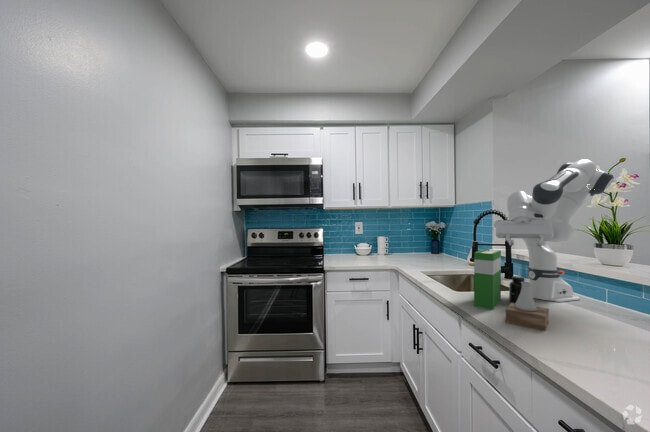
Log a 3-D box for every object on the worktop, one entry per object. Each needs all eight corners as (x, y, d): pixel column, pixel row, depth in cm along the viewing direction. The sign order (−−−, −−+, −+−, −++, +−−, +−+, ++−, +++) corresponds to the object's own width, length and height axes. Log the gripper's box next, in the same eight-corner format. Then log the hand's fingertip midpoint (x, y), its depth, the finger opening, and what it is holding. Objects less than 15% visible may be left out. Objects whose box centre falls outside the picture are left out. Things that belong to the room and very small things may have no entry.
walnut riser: (511, 314, 119) (511, 302, 119) (548, 321, 111) (548, 308, 111) (505, 322, 110) (505, 309, 110) (545, 330, 102) (545, 316, 102)
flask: (542, 312, 107) (542, 285, 107) (520, 311, 107) (520, 284, 108) (530, 306, 114) (530, 280, 114) (510, 305, 115) (511, 280, 115)
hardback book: (483, 298, 143) (483, 249, 144) (500, 300, 139) (500, 250, 139) (474, 306, 130) (474, 252, 130) (492, 309, 125) (493, 254, 125)
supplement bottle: (507, 302, 136) (507, 276, 136) (510, 299, 141) (510, 274, 141) (525, 305, 131) (525, 279, 131) (527, 302, 136) (528, 276, 136)
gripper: (494, 215, 130) (496, 239, 121) (550, 214, 121) (557, 240, 112) (493, 225, 134) (495, 248, 125) (548, 225, 125) (554, 250, 116)
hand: (525, 244), depth 119 cm, fingers open, 8 cm apart
